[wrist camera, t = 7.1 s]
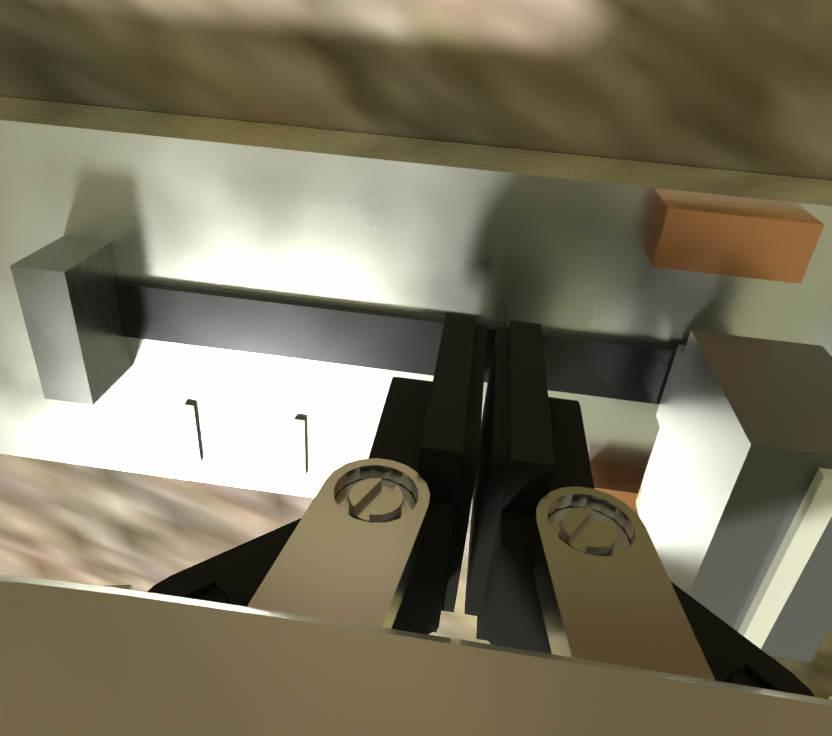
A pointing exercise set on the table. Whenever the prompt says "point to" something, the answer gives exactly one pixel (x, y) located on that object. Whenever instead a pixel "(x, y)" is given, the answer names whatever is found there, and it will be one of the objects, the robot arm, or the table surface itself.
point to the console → (357, 285)
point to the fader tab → (747, 487)
